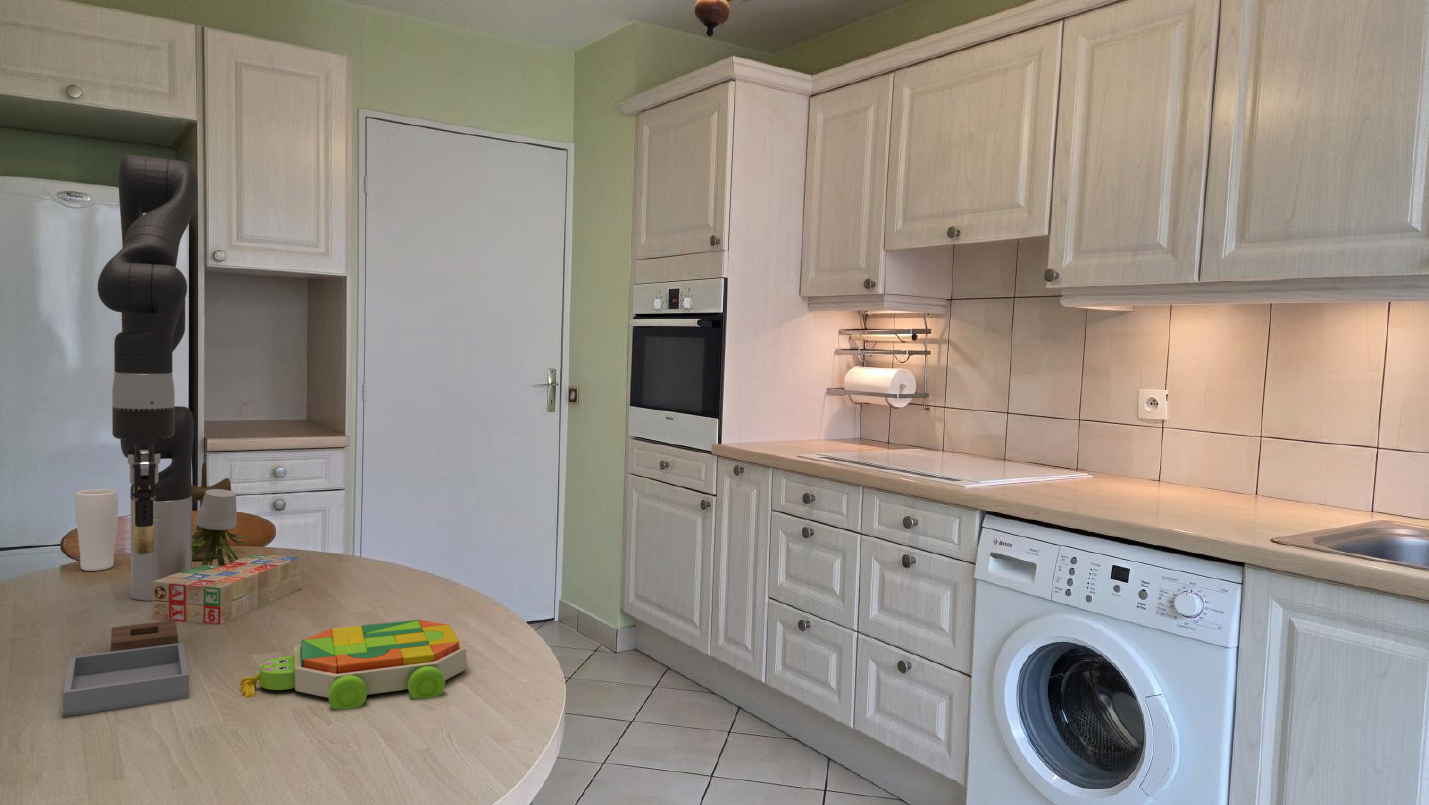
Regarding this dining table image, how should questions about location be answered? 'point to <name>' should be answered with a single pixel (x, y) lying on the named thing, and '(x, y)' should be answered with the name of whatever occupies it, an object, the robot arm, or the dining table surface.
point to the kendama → (199, 495)
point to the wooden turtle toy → (367, 663)
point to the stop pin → (143, 533)
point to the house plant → (216, 525)
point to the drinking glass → (96, 527)
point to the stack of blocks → (225, 589)
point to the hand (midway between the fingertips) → (144, 523)
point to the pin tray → (125, 679)
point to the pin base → (143, 635)
